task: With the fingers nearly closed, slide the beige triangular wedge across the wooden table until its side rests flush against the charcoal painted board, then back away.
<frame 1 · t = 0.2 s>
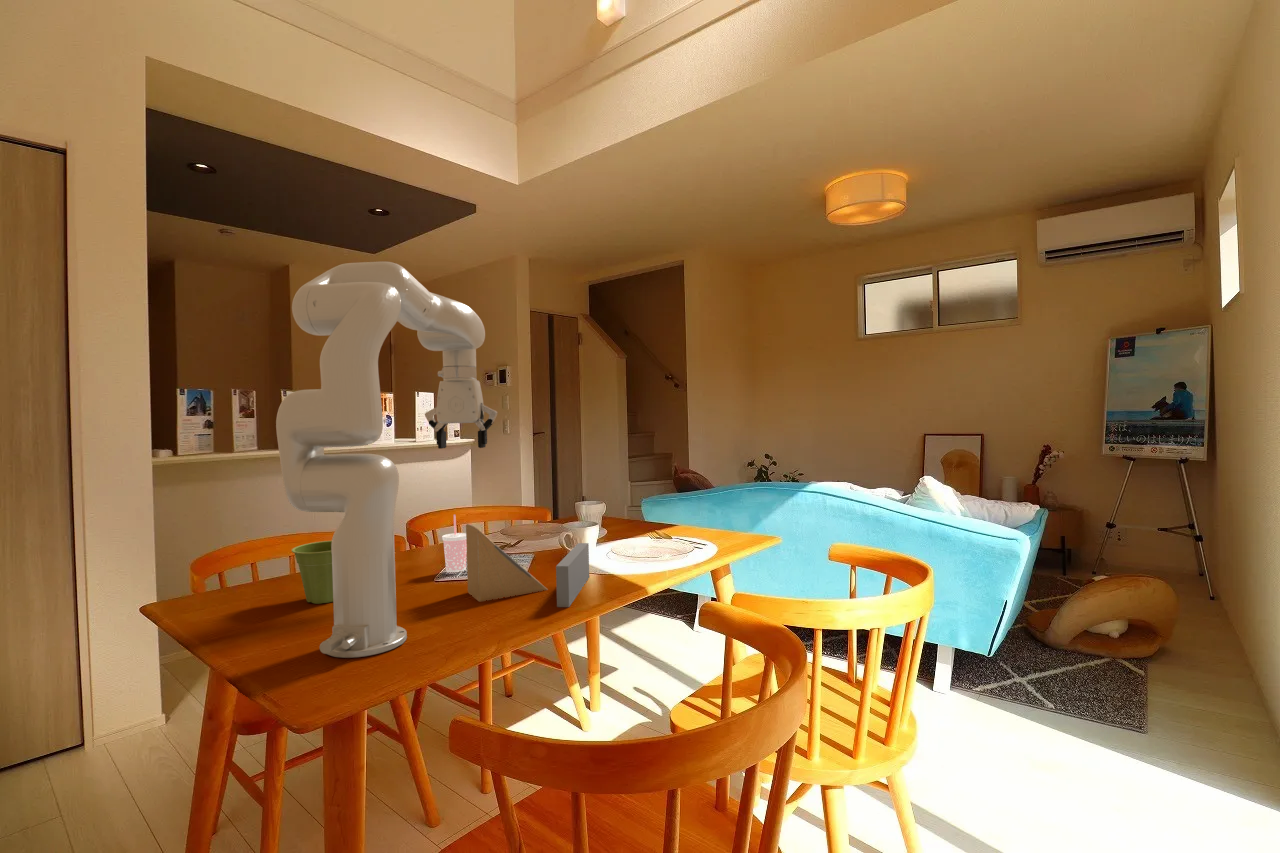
hand: (462, 447, 147), 30 cm above the table, tool pointing down, fingers open, 9 cm apart
beige triangular wedge: (508, 592, 134), on the table
board: (574, 591, 133), on the table
beverage cup: (456, 572, 152), on the table
plant pot: (325, 600, 131), on the table
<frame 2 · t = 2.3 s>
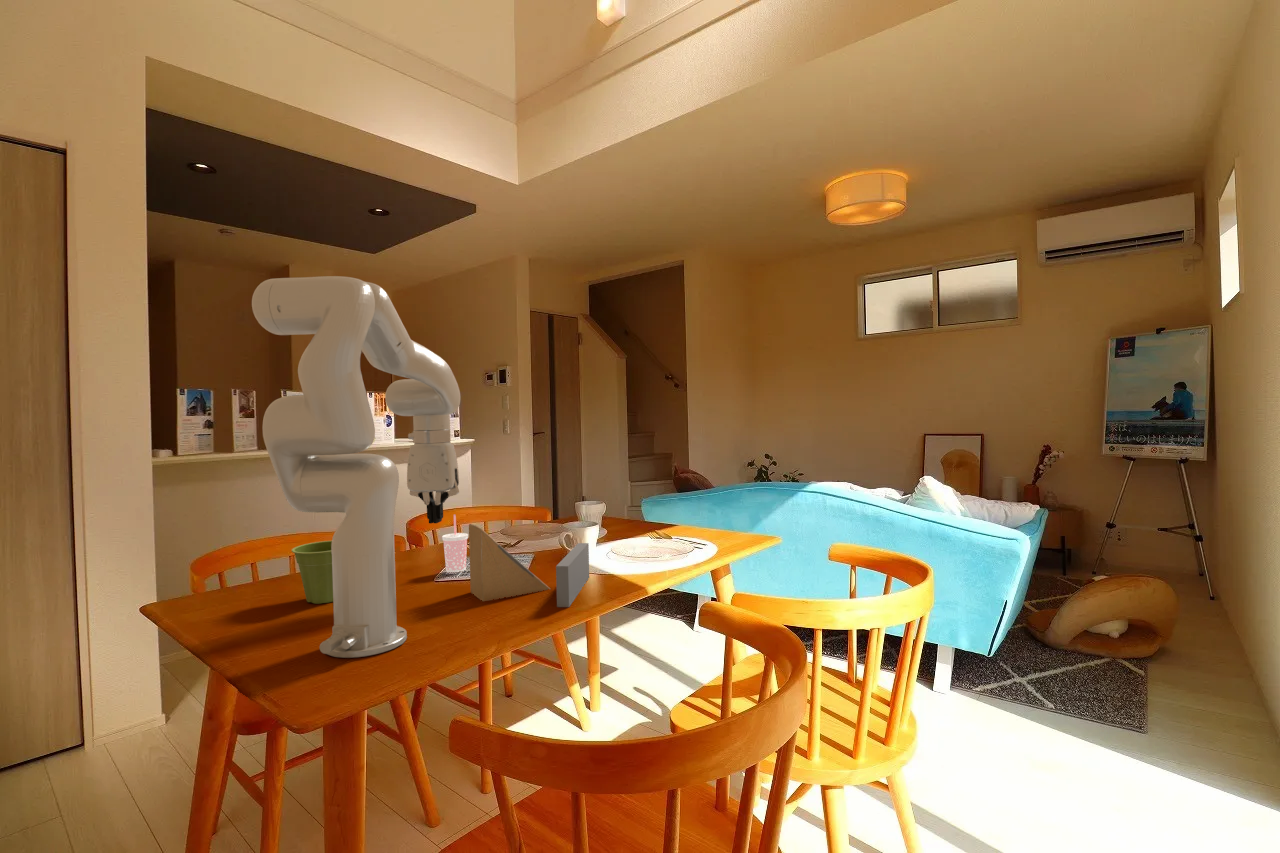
hand: (435, 522, 136), 15 cm above the table, tool pointing down, fingers closed
nothing on the table moved.
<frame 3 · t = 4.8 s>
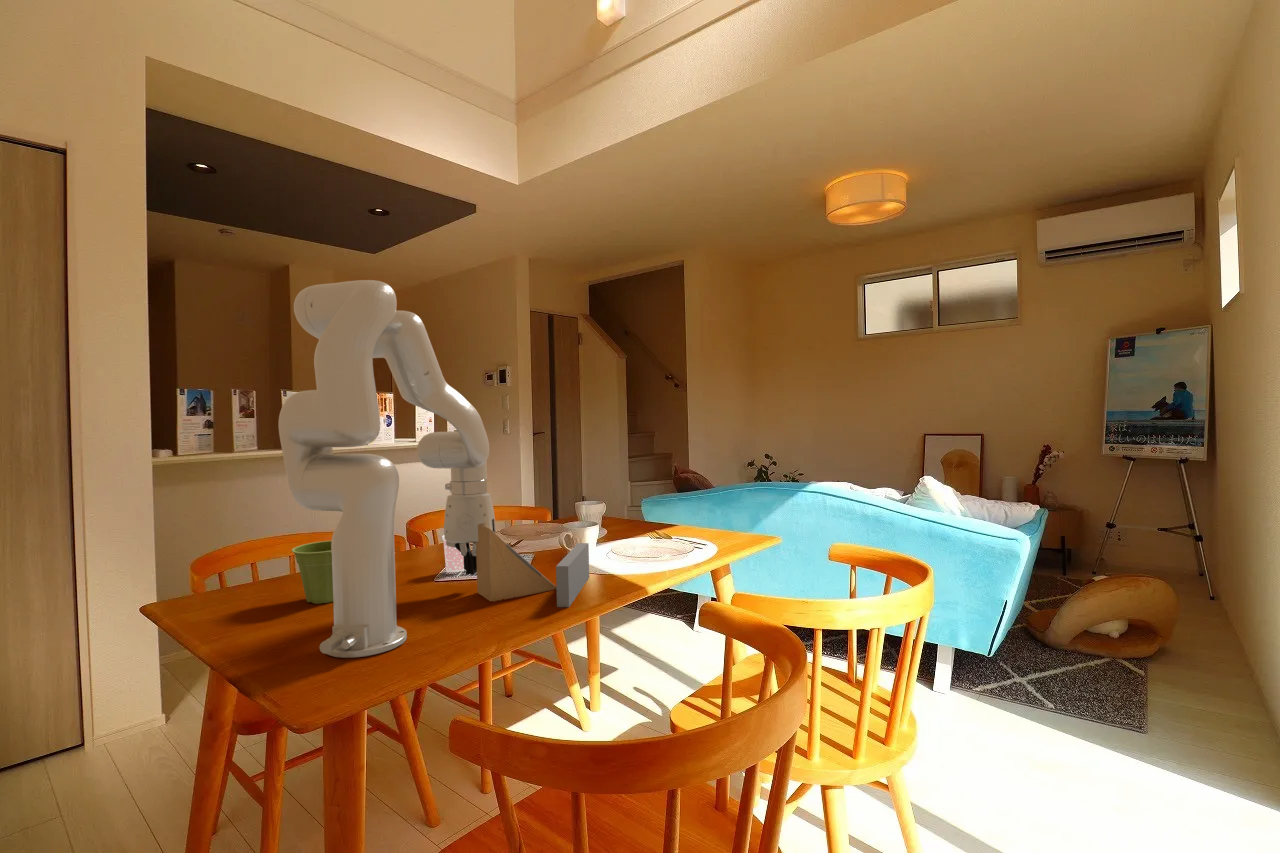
hand: (472, 572, 135), 4 cm above the table, tool pointing down, fingers closed
beige triangular wedge: (518, 591, 134), on the table
everything else where it was.
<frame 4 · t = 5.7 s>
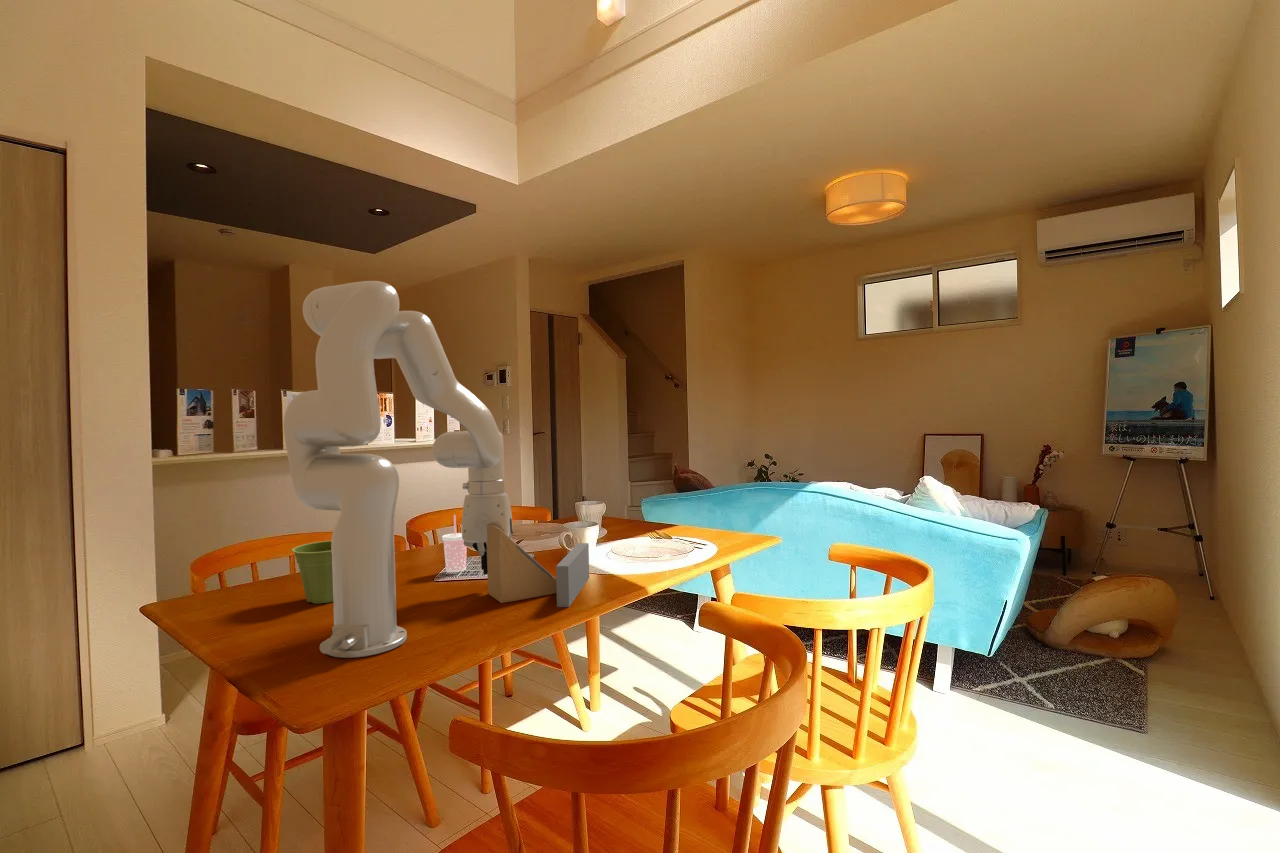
hand: (489, 572, 135), 4 cm above the table, tool pointing down, fingers closed
beige triangular wedge: (529, 593, 133), on the table, touching board, gripper
everything else where it was.
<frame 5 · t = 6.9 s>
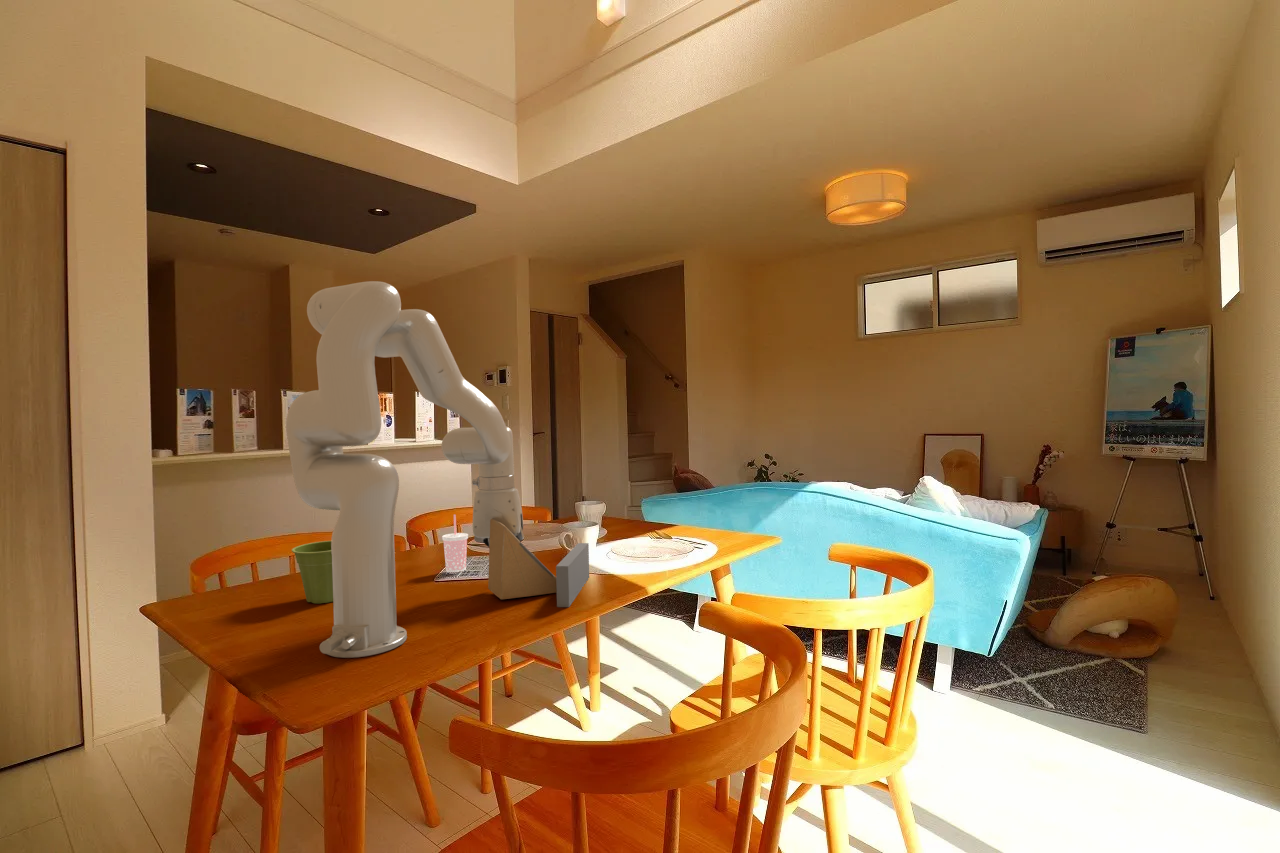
hand: (500, 567, 135), 5 cm above the table, tool pointing down, fingers closed
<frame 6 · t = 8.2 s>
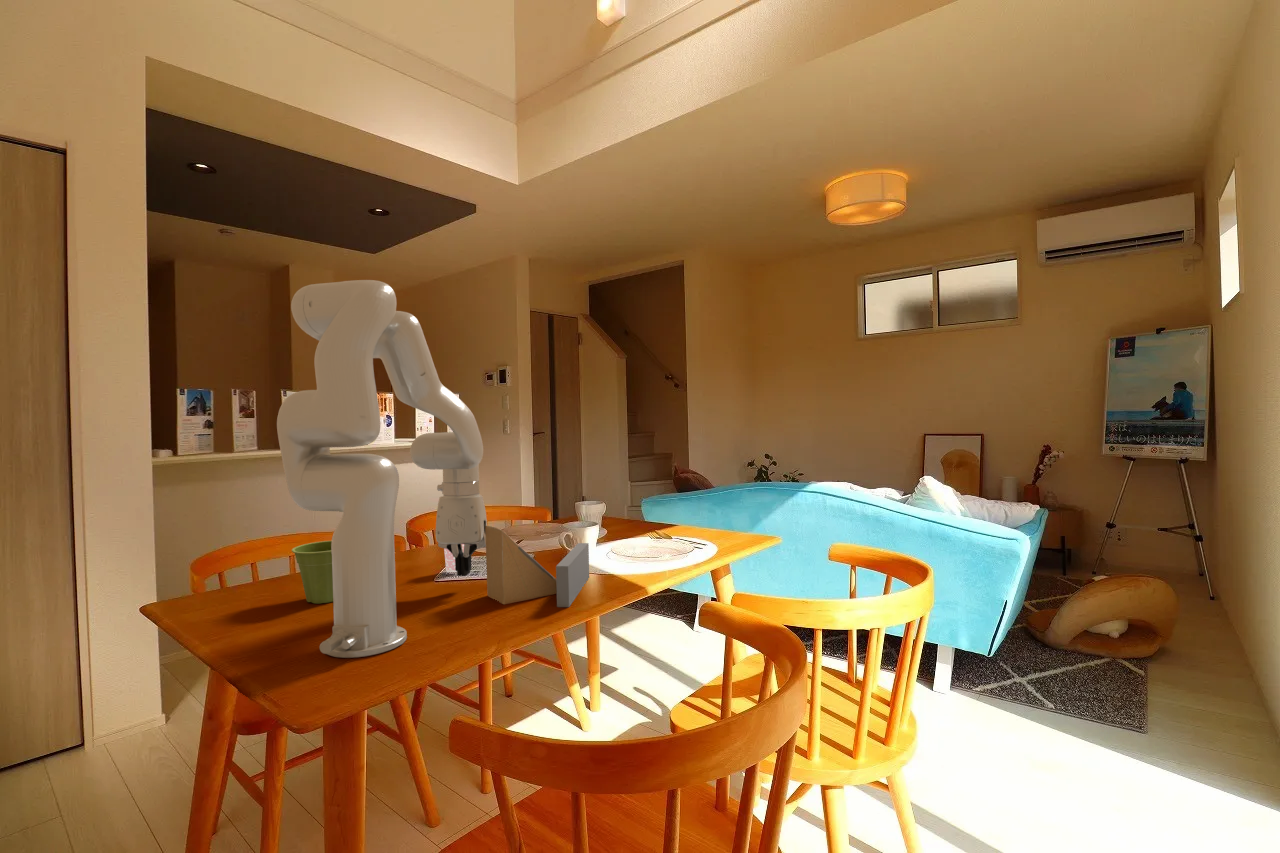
hand: (463, 574, 135), 4 cm above the table, tool pointing down, fingers closed
beige triangular wedge: (529, 594, 132), on the table
everything else where it was.
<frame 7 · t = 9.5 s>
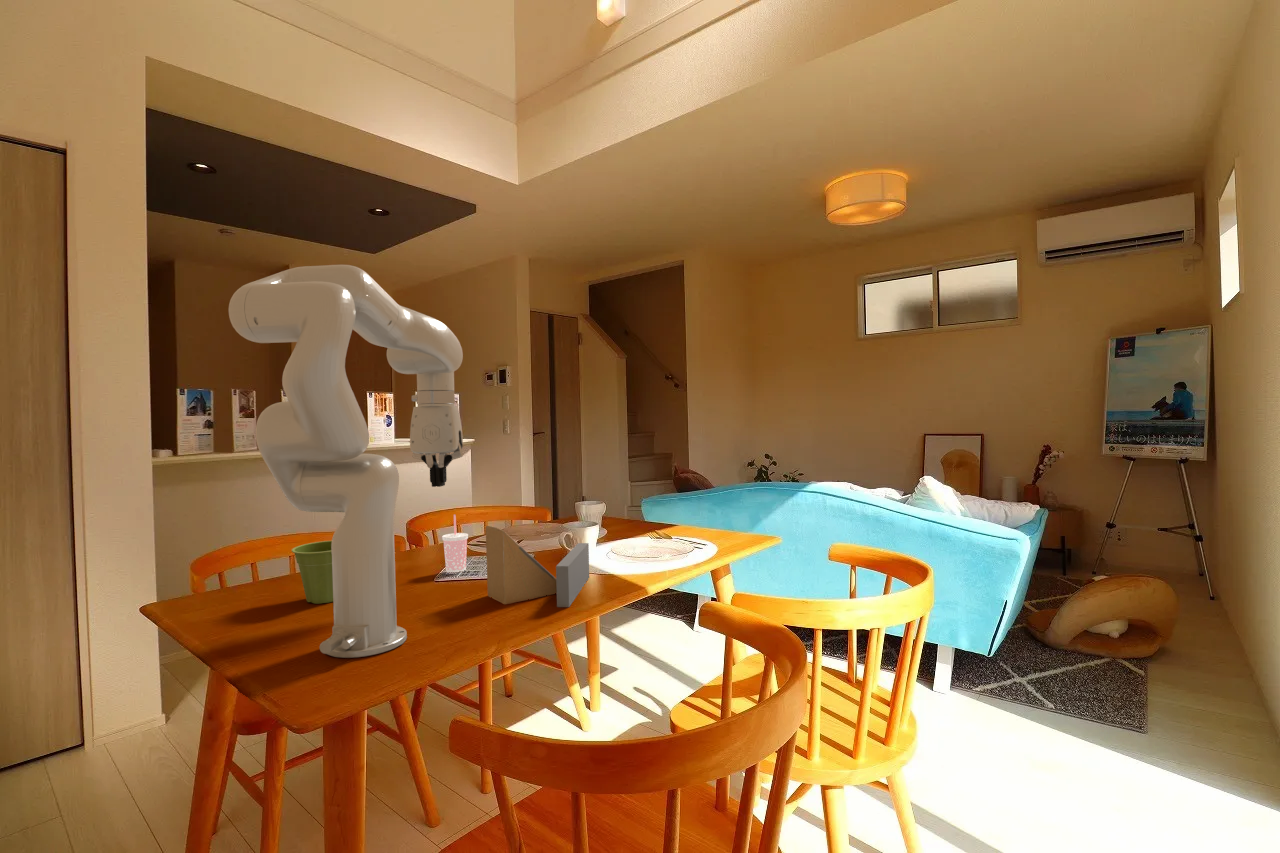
hand: (438, 485, 133), 23 cm above the table, tool pointing down, fingers closed
nothing on the table moved.
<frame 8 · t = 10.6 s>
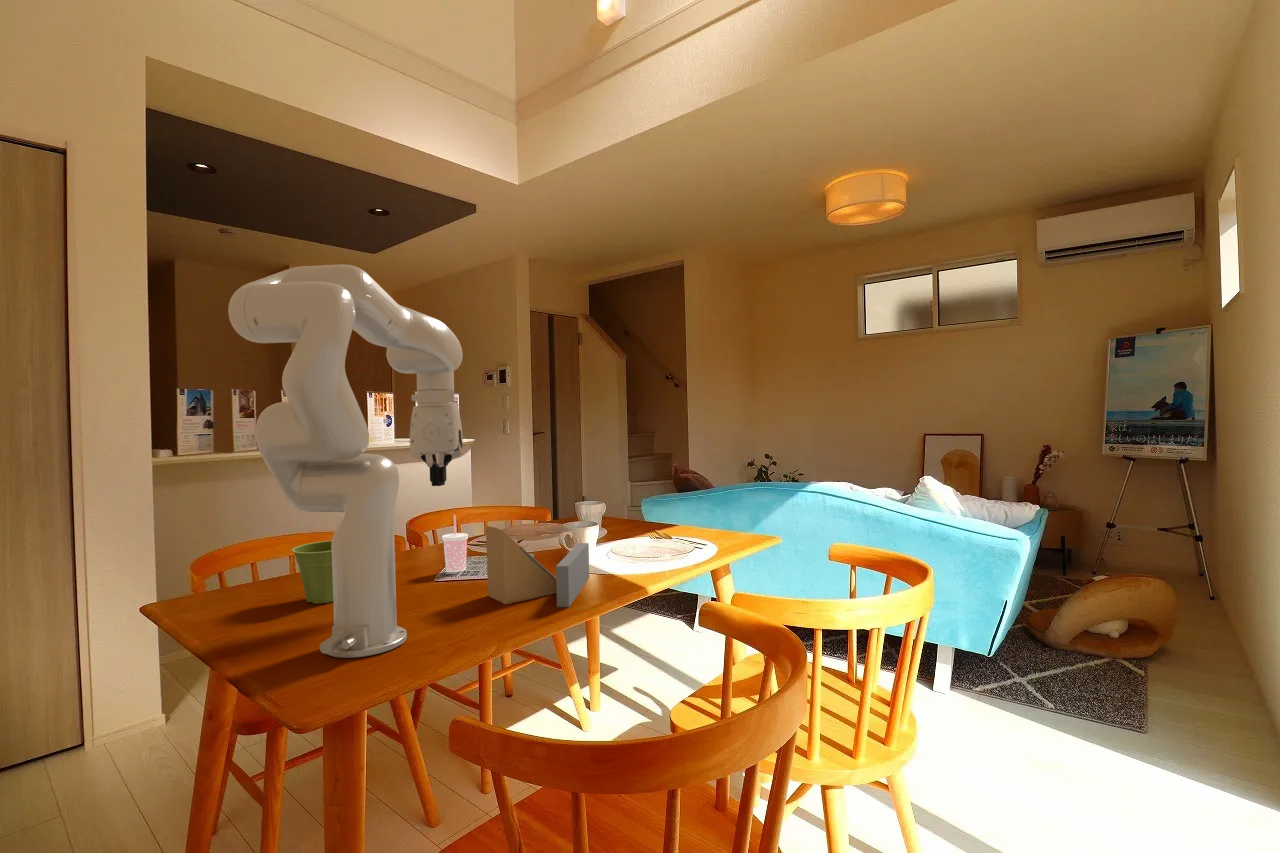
hand: (438, 485, 133), 23 cm above the table, tool pointing down, fingers closed
nothing on the table moved.
at the end: beige triangular wedge inside the target area on the table beside the board (1.1 cm from its centre), on the table; beige triangular wedge tilted 0° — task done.
